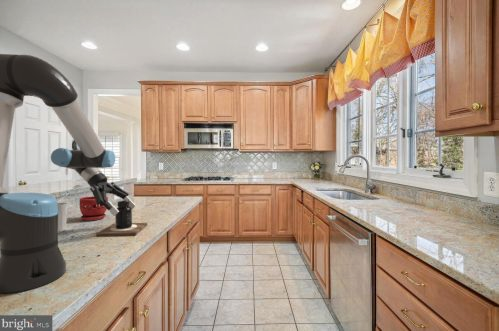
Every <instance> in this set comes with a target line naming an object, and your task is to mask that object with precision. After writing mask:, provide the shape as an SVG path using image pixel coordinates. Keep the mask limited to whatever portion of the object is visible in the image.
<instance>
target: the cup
mask: <svg viewBox="0 0 499 331" xmlns="http://www.w3.org/2000/svg"><path fill="white" fill-rule="evenodd" d="M57 206H58V211H59V212H58V232H61V231H65V230H66V229H67V218H68V206H69V203H68V202H57Z"/></svg>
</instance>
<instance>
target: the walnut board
mask: <svg viewBox="0 0 499 331" xmlns="http://www.w3.org/2000/svg"><path fill="white" fill-rule="evenodd" d="M147 226H148V222H132V226H131V227H130V228H126V229H117V228H116V222H115V223H112V224H110V225H109V226H107V227H105V228H104V229H101V230H100V231H98V232H97V233H95V234H96V237H128V236H129V237H130V236H132V237H133V236H134V237H135V236H137V235H138V234H140V232H141V231H143V230H144V229H145V228H146V227H147Z"/></svg>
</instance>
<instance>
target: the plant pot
mask: <svg viewBox="0 0 499 331" xmlns="http://www.w3.org/2000/svg"><path fill="white" fill-rule="evenodd" d="M107 201H109V197H108V196H107ZM79 210H80V214H82V215H81V216H80V219H81V220H83V221H88V222H89V221H90V222H91V221H98V220H102V219H104V218H105V217H106V216H107V214H106V213H107V209H106V207H105V206H104V205H103V206H100V205H98V204H97V203H96V200H95V198H94V195H93V196H85V197H80V198H79Z"/></svg>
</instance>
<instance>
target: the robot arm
mask: <svg viewBox="0 0 499 331" xmlns="http://www.w3.org/2000/svg"><path fill="white" fill-rule="evenodd" d="M25 96H26V97H37V98H38V99H41V101H42V102H43V103H44V105H45V106H47V107H50V108H52V110H53V111H54V113H55V114H56V115H57V118H58V119H59V120H60V122H61V123H62V125H63V126H64V128H65V130H67V131H68V133H69V134H70V137H71V138H72V139H73V141H74V142H75V143H76V145H77V146H78V148H79V149H69V148H64V147H58V148H56V149H54V150H52V152H51V155H50V161H51V163H52V164H54V165H55V166H58V167H60V168H66V169H71V170H74V171H75V172H76V173H77V174H78V175H79V176H80V177H81V178H82V179H83V180H84V181H85V182H86V183H87V184H88V185H89V187H90V188H89V190H90V191H91V192H92V195H93V196H94V198H95V200H96V203H97V204H98V205H99V206H103V205H104V206H105V207H106V210H108V212H109V213H110V214H111V215H112V216H113V217H115V215H116V214H117V213H118V212H119V211H118V210H117V209H116V208H117V207H116V206H115V205H114V204H113V203H112V202H111V201H110V200H108V201H107V197H108V195H107V194H110V195H111V194H112V195H114V196H116V197H118V198H120V199H122V201H129V206H130V207H131V208H132V210H133V209H135V207H136V206H137V205H136V204H135V203H134V202H133V201H132V199H131V198H130V197H129V195H130V193H129V192H127V191H125V190H124V189H123V188H121V187H120V186H119V185H117V184H116V183H115V182H113V181H112V182H110V183H109V182H108V177H107V176H106V175H105V174H104V173H102V171H101V170H100V169H101V168H102V169H104V168H105V169H106V168H108V169H109V168H113V166H114V165H115V163H116V154H115V153H114V151H112V150H109V149H105V147H104V146H103V144H102V142H101V141H100V139H99V137H98V136H97V135H98V134H97V133H96V132H95V130H94V129H93V126H92V125H91V123H90V120H88V118H87V116H86V114H85V112H84V110H83V109H82V106H81V105H80V103H79V101H78V97H79V94H78V93H77V91H76V89H75V88H74V85H73V84H72V83H71V82H70V80H69V79H68V78H67V77H66V76H65V75H64V74H63V73H62V72H61V71H59V69H57V68H56V67H55V66H53V65H52V64H50V63H49V62H48V61H45V60H44V59H42V58H39V57H37V56H33V55H30V54H11V53H9V54H7V53H0V294H9V293H19V292H23V291H24V292H25V291H28V290H29V291H30V290H33V289H35V288H39V287H42V286H45V285H47V284H49V283H52V282H54V281H56V280H58V279H59V278H61V277H63V275H65V274H66V272H67V263H66V260H65V259H64V256H63V254H62V251H61V250H60V247H59V231H58V212H59V211H58V206H57V203H58V200H57V198H56V197H55V196H53V195H52V194H47V193H42V192H40V193H39V192H10V193H9V191H8V190H6V189H5V188H4V187H3V185H4V178H5V171H6V165H7V162H8V161H7V159H8V154H9V149H10V148H9V147H10V142H11V141H10V140H11V136H12V135H11V134H12V130H13V124H14V117H15V111H16V109H18V108H19V107H22V106H23V104H24V99H25Z"/></svg>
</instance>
